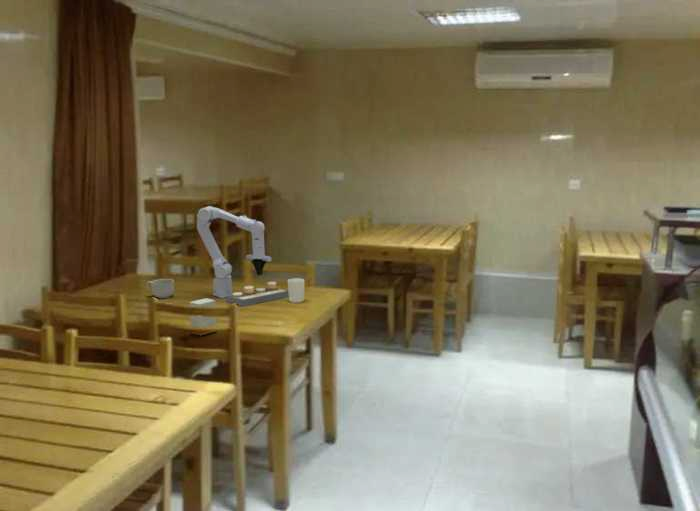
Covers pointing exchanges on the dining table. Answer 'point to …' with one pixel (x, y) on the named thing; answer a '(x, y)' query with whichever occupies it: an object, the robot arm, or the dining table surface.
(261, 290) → the button
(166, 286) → the teacup
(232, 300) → the board
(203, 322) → the small box
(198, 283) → the dining table surface
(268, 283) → the button
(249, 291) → the button
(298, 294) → the white cup
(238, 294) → the button
